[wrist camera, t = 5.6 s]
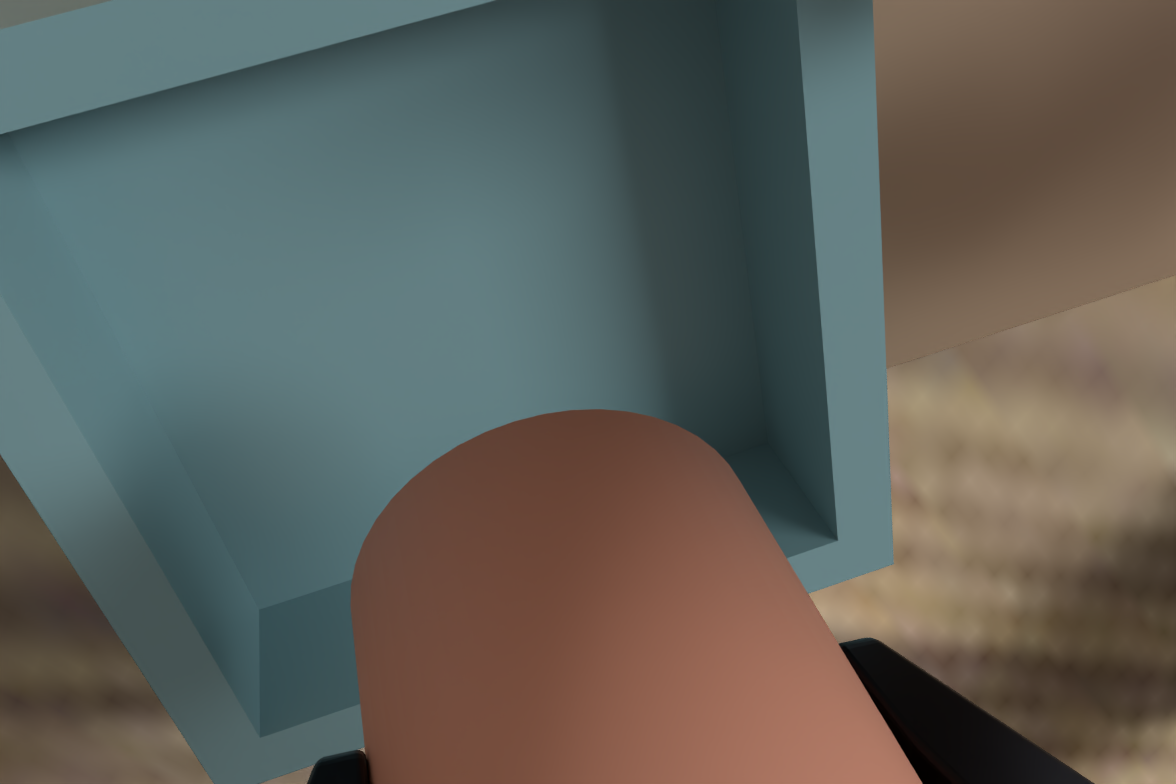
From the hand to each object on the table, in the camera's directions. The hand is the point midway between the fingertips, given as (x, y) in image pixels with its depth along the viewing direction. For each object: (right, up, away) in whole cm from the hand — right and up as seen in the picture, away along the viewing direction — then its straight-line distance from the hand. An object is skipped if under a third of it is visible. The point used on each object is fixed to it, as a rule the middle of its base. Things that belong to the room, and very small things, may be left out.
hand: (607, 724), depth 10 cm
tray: (-3, +5, +8) cm, 10 cm away
